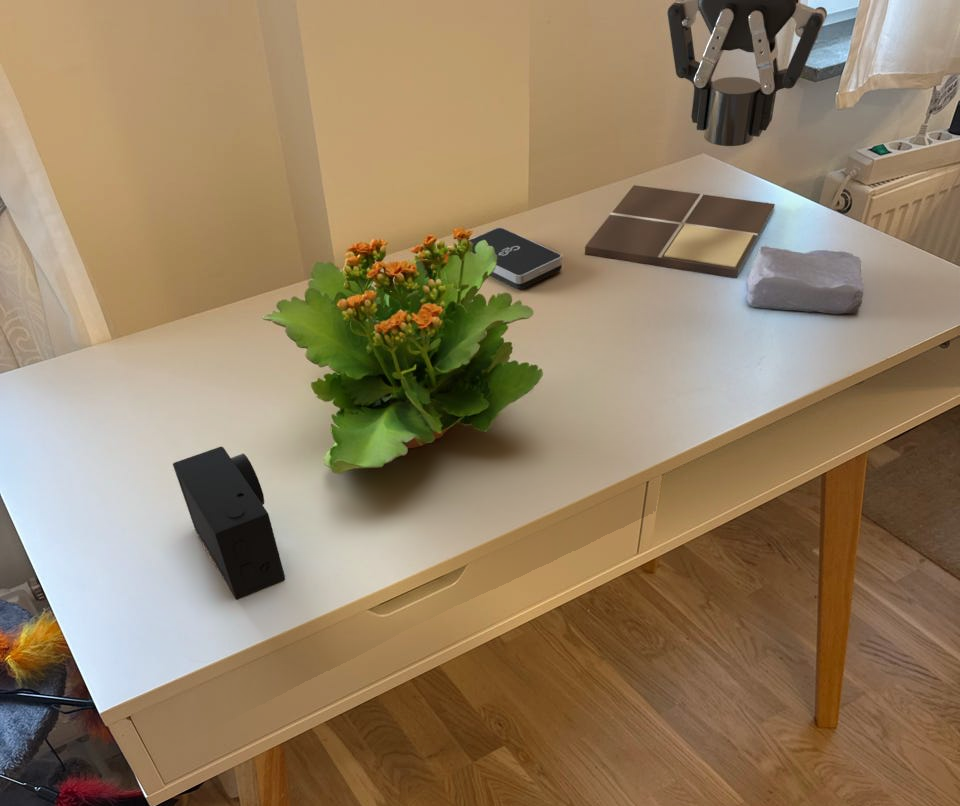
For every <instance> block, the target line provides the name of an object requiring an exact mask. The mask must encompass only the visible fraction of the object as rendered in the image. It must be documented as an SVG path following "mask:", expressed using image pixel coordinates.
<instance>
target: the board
mask: <svg viewBox="0 0 960 806" xmlns="http://www.w3.org/2000/svg"><path fill="white" fill-rule="evenodd" d="M775 206H776V204H775V203H770V202H764V201H763V202H762V201H755V200H747V199H742V198H741V199H740V198H733V197H725V196H718V195H712V194H711V195H710V194H705V193H703V192H701V193H695V192H687V191H681V190H673V189H665V188H657V187H651V186H644V185H643V186H642V185H637V184H636V185H635V184H634V185H633V186H632V187H631V188H630V189H629V191H627V193H626V194H625V195H624V196H623V198H622V199H621V200H620V202H619V203H617V205H616V207H615V208H614V209H613V211H612V212H610V213H609V216H607V217H606V219H605V220H604V222H603V223H602V224H601V226H599V228H598V229H597V230H596V232H595V233H594V234H593V235H592V237H591V238H590V239H589V240H588V242H587V243H586V244H585V246H584V255H589V256H595V257H601V258H608V259H614V260H620V261H621V260H622V261H625V262H634V263H639V264H645V265H651V266H652V265H653V266H659V267H665V268H671V269H677V270H684V271H689V272H694V273H695V272H696V273H701V274H708V275H714V276H721V277H727V278H733V279H737V278H738V277H739V275H740V273H741V272H742V269H743V267H744V266H745V264H746V262H747V260H748V258H749V257H750V255H751V253H752V252H753V249H754V248H755V246H756V244H757V242H758V240H759V239H760V237H761V235H762V233H763V232H764V230H765V228H766V226H767V224H768V223H769V220H770V219H771V217H772V215H773V213H774V211H775Z"/></svg>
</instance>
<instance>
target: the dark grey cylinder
mask: <svg viewBox="0 0 960 806" xmlns="http://www.w3.org/2000/svg"><path fill="white" fill-rule="evenodd" d="M760 90H761V85H760V81H757V80H755V79H752V78H749V77H742V76H741V77H740V76H729V77H721V78H718V79H715V80H713V82H712V83H711V85H710V92H709V100H708V108H707V117H706V125H705V130H704V133H703V137H704V140H705V141H706V142H708V143H710V144H713V145H716V146H721V147H740V146H744V145H747V144H750V143H751V142H752V141H753V140H754V138H755V136H751V133H752V126H753V120H754V113H755V107H756V100H757V94H758V93H759V92H760Z"/></svg>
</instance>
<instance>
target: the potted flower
mask: <svg viewBox="0 0 960 806" xmlns="http://www.w3.org/2000/svg"><path fill="white" fill-rule="evenodd" d="M473 233H474V231H473V230H472V229H469V230H466V229H465V227H461V228H459V227H454V229H453V230H452V234H451V236H452V237H453V238H452V239H453V240H457V243H455V242H453V244H449V245H446V242H445V240H444V239H443V238H440V239H439V240H438V239H437V238H436V237H435V235H434V234H429V235H427V236H426V237H424V239H423V240H422V242H421V243H422V244H419V245H415V246H413V248H412V249H410V250H409V252H410V253H412V254H416V255H414V256H413V260H409V259H408V260H401V261H393V260H392V261H389V262H388V261H387V260H384V259H385V258H386V256H387V248H386V246H387V245H388V244H389V241H387V240H385V239H380V238H379V239H376V238H372V240H371V241H370V242H369V243H368V242H367V241H366V242H362V241H358V242H356V243H355V244H352V245H351V247H349V248H347V249H346V254H344V257H345V261H344V265H343V269H342V271H341V270H340V268H339V267H338V266H336V264H335V263H333V262H332V261H326V262H324V261H315V263H313V265H312V268H311V270H310V271H309V273H310V274H309V275H310V276H311V278H312V279H309V280H307V286H308V287H307V288H306V289H305V291H304V299H301V298H299V297H298V296H295V295H293V296H292V297H291V299H290V300H288V299H285V298H284V299H281V300H278V301H277V302H276V305H275V307H276V309H277V310H278V311H276V310H272V311H271V312H270V313H268V314H265V315H264V316H262V319H263V320H264V321H266V322H267V321H268V322H272V323H273V324H275V325H277V326H280V327H282V328H285V329H284V332H285V334H286V336H287V337H288V338H289V339H290V340H291V341H293V342H294V343H295V345H296V346H297V347H298V348H300V349H306V350H305V353H304V355H305V358H306V359H307V360H308V361H309V362H310V363H312V364H313V365H317V366H318V367H319V368H324V367H327V366H328V368H329V369H330V370H331V371H333V373H325V374H324V375H323V378H324V380H323V379H321V378H320V377H318V378H317V379H316V381H312V382H311V383H310V387H311V389H312V391H313V394H315V395H316V398H317V399H318V400H321V401H322V402H324V403H328V402H332V404H333V406H335V407H336V408H338V409H339V410H337V412H336V413H335V414H333V413H331V414H330V417H331V419H332V421H333V423H334V424H335V425H334V424H332V423H331V424H330V433H331V437H332V439H333V441H334V443H333V445H332V446H331V447H330V449H329V450H328V452H327V453H326V454H325V456H324V458H323V464H324V466H325V467H327V468H330V469H331V471H332V473H334V474H336V475H339V474H342V473H344V472H346V471H349V470H352V469H372V468H373V469H374V468H375V469H377V468H383V467H384V465H385V464H389V463H391V462H392V461H393V460H394V459H396V458H399V457H400V456H406V455H407V454H408V450H409V449H413V448H418V447H422V446H424V445H426V444H431V443H433V442H434V441H435V440H438V439H440V438H442V437H443V436H444V435H445V433H446V432H447V431H449V430H450V429H451V427H453V426H454V425H456V424H457V423H459V424H460V425H462V426H470V425H471V426H472V427H473V429H475V430H478V432H484V433H485V432H488V431H489V430H490V427H491V426H492V424H493V422H494V420H496V419H497V418H498V416H499V415H500V413H501V411H503V410H504V409H506V408H507V407H508V406H509V405H510V404H513V403H515V402H517V401H518V400H520V399H521V398H523V397H524V396H525V395H527V394H529V393H530V392H531V391H532V390H533V389H534V388H535V387H536V386H537V385H538V384H539V383H540V381H541V379H542V378H543V376H544V372H543V371H544V370H543V368H539V366H538V364H530V363H529V362H527V361H525V362H521V363H520V364H519V361H518V360H516V359H514V360H511V361H509V360H510V358H511V355H512V353H513V349H514V348H513V346H512V345H513V343H512V342H511V341H506V342H505V338H504V337H503V335H505V333H506V332H507V331H508V329H509V326H508V325H509V324H512V323H514V322H517V321H521V320H528V319H530V318H532V317H533V316H534V309H533V308H532V307H530V306H529V305H526V304H525V305H524V304H523V303H522V300H519V299H518V300H516V301H515V302H514V303H512V302H513V297H512V294H511V293H510V292H508V291H507V292H506V291H505V292H502V293H497V295H496V294H492V295H491V296H490V297H489V300H488V301H487V299H486V296H484V295H483V294H482V293H478V292H479V291H480V289H481V288H482V285H483V284H484V282H486V281H487V279H488V278H489V277H491V276H490V275H491V274H492V272H493V271H494V270H495V267H496V263H497V262H496V261H497V259H498V258H497V255H496V254H495V250H494V247H492V246H488V243H487V242H486V240H483V241H480V242H478V244H477V245H476V246H475V251H476V254H474V253H472V246H473V243H472V242H470V241H468V240H470V239H471V236H472V234H473ZM437 240H438V241H437ZM436 243H437V244H436ZM382 269H383V271H381V270H382ZM373 282H374V285H373ZM372 285H373V286H372Z"/></svg>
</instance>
